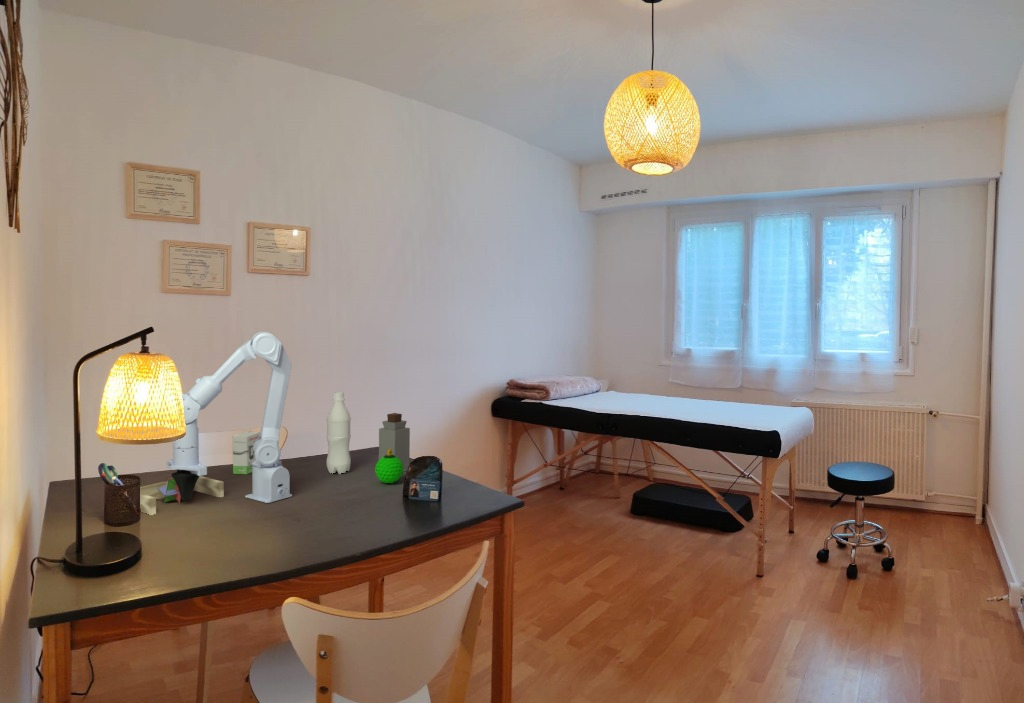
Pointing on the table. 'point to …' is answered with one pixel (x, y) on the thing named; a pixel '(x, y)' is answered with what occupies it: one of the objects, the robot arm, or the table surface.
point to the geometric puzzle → (170, 490)
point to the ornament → (389, 468)
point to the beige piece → (151, 494)
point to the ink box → (244, 452)
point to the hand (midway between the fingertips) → (186, 499)
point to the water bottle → (338, 436)
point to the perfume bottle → (395, 438)
